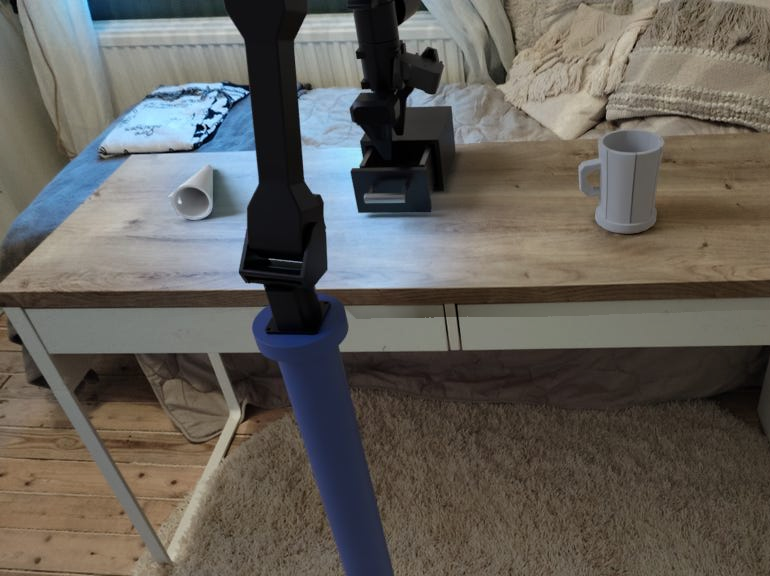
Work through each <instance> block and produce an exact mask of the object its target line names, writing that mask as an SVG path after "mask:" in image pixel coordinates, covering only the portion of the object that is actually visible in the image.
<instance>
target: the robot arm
mask: <svg viewBox="0 0 770 576" xmlns="http://www.w3.org/2000/svg"><path fill="white" fill-rule="evenodd" d="M222 2H223V7H224V10H225V13H226V14H227V15H228V17H229V18H230V21H231V22H232V23H233V25H234V26H235V28H236V29H237V31H238V33H239V34H240V36H241V37H242V39H243V43H244V50H245V60H246V68H247V79H248V89H249V99H250V109H251V110H250V111H251V118H252V128H253V138H254V149H255V158H256V168H257V169H256V170H257V177H258V183H257V186H256V188H255V190H254V192H253V194H252V196H251V198H250V200H249V202H248V204H247V206H246V228H245V229H246V230H245V234H244V239H243V245H242V252H241V255H240V256H241V257H240V260H239V267H238V275H239V276H240V278H241V279H242V280H243V281H244V283H245V284H255V285H263V289H264V293H265V295H266V299H267V303H268V305H269V306H270V309H271V312H272V315H273V316H272V318H271V319H270V321H269V323H268V325H267V326H266V328H265V332H266V334H276V335H316V334H317V333H318V332H319V330H320V328H321V325H322V323H323V321H324V319H325V317H326V315H327V313H328V310H329V308H330V306H331V304H330V301H319V299H318V295H317V293H318V292H317V287H316V285H317V284H318V282H319V281H320V280H321V279H322V278H323V276H325V274H326V273H327V272H328V242H327V241H328V240H327V231H326V230H327V226H326V223H325V222H326V221H325V213H324V211H325V208H324V207H325V202H324V199H323V197H322V195H321V194H320V193H313V192H312V190H311V189H310V187H309V186H308V185H307V183H306V179H305V170H304V158H303V146H302V145H303V143H302V131H301V119H300V107H299V105H300V104H299V93H298V79H297V66H296V54H295V53H296V52H295V51H296V50H295V41H296V38H297V36H298V34H299V31H300V29H301V27H302V25H303V23H304V21H305V19H306V17H307V16H308V0H222ZM420 5H421V0H347V2H346V9H347V10H349V11H352V13H353V19H354V20H353V21H354V27H355V33H356V37H357V45H358V48H357V49H356V50H355V51H354V52H355V57H356V60H360V63H361V70H362V76H363V78H362V79H361V81H360V87H361V90H370V91H369V92H367V91H366V92H359V94H358V95H357V97H356V98H355V99H354V101H353V103H352V104H351V105H350V107H349V113H350V119H351V120H350V121H351V122H352V123H353V124H356V126H359V127H360V129H361V130H362V131H363V132H364V134H365V133H366V135H367V136H368V137H369V139H370V140H371V141H372V143H373V144H374V146H375V147H376V149H377V150H378V152H379V153H380V154H381V156H382V157H383V159H384V160H391V159H392V127H393V129H394V131H395V133H396V135H397V136H402V135H403V134H404V125H405V114H406V107H407V103H408V98H409V97H410V96H411V94H412V93H413V92H414V91H415V89H416V90H419V91H422V92H424V94H427V95H431V96H434V95H436V94H437V91H438V89H439V87H440V83H441V80H442V75H443V71H444V68H445V64H443V63H444V61H443V60H440V58H439V53H438V49H437V48H435V47H431V46H427V47H426V48H425V49H424V50H423V51H422V52H421V54H419V52H415V53H411V52H408V51H407V45H406V42H404V40H403V39H400V33H399V26H402V24H403V23H405V22H406V21H408V20H409V19H410V18H412V17H413V16H414V15H415V14H416V13H417V12H418V11H419V8H420Z"/></svg>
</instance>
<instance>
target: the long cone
mask: <svg viewBox="0 0 770 576" xmlns="http://www.w3.org/2000/svg"><path fill="white" fill-rule="evenodd" d="M213 196H214V168H213V166H212V165H211V164H207V165H205V166H203V167H201V169H199V170H198V171H197V172H196V173H194V174H193V175H192V176H191V177H189V178H188V179H187V180H185V181H184V182H183V183H182V184H180V185H179V186H178V187H177V188H175V190H174V191H173V192H171V193H170V194H169V195H168V199H169V202H170V205H171V206H172V209H173V211H174V213H175V215H176V217H182V218H185V219H187V220H192V221H198V220H203V219H205V218H207V217H208V216H209V215H210V214H211V212H212V210H213V207H214V197H213Z"/></svg>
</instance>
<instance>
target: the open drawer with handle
mask: <svg viewBox="0 0 770 576" xmlns="http://www.w3.org/2000/svg"><path fill="white" fill-rule="evenodd" d="M434 145H435V144H434ZM434 145H392V159H391V160H384V159H383V157H382V156H381V154H380V153H379V152H378V150H377V149H376V147H375V146H370V147H369V149H368V151H367V153H366V154H365V156H364V158H363V157H362V159H361V162H360V163H359V165H358V167H352V168H351V169H350V172H349V173H350V177H351V178H350V179H351V183H352V189H353V193H354V198H355V204H356V210H357V214H373V213H374V214H393V213H394V214H395V213H396V214H397V213H398V214H399V213H401V214H402V213H403V214H405V213H407V214H409V213H414V214H415V213H418V214H419V213H420V214H421V213H432V210H433V204H432V195H433V192H434V191H433V189H434V187H435V184H436V181H437V178H438V174H437V165H436V155H435V146H434Z"/></svg>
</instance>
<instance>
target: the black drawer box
mask: <svg viewBox="0 0 770 576" xmlns="http://www.w3.org/2000/svg"><path fill="white" fill-rule="evenodd" d="M434 144H435V145H434ZM359 145H360V150H361V151H360V152H361V157H362V159H363V158H364V156H365V154H366V153H367V151H368V149H369V147H370V146H374V144H373V143H372V141H371V140H370V139H369V137H368V136H367V135H366V133H365V132H364V133H363V135H362V137H361V139H360V141H359ZM392 145H434V146H435V155H436V165H437V174H438V178H437V181H436V184H435V187H434V189H433V192H444V191H445V189H446V186H447V182H448V180H449V176H450V174H451V171H452V167H453V164H454V161H455V157H456V154H457V151H456V141H455V129H454V115H453V107H452V105H437V106H436V105H434V106H433V105H432V106H431V105H430V106H406V114H405V125H404V134H403V135H402V136H397V135H396V133H395V131H394V129H393V127H392Z"/></svg>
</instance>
